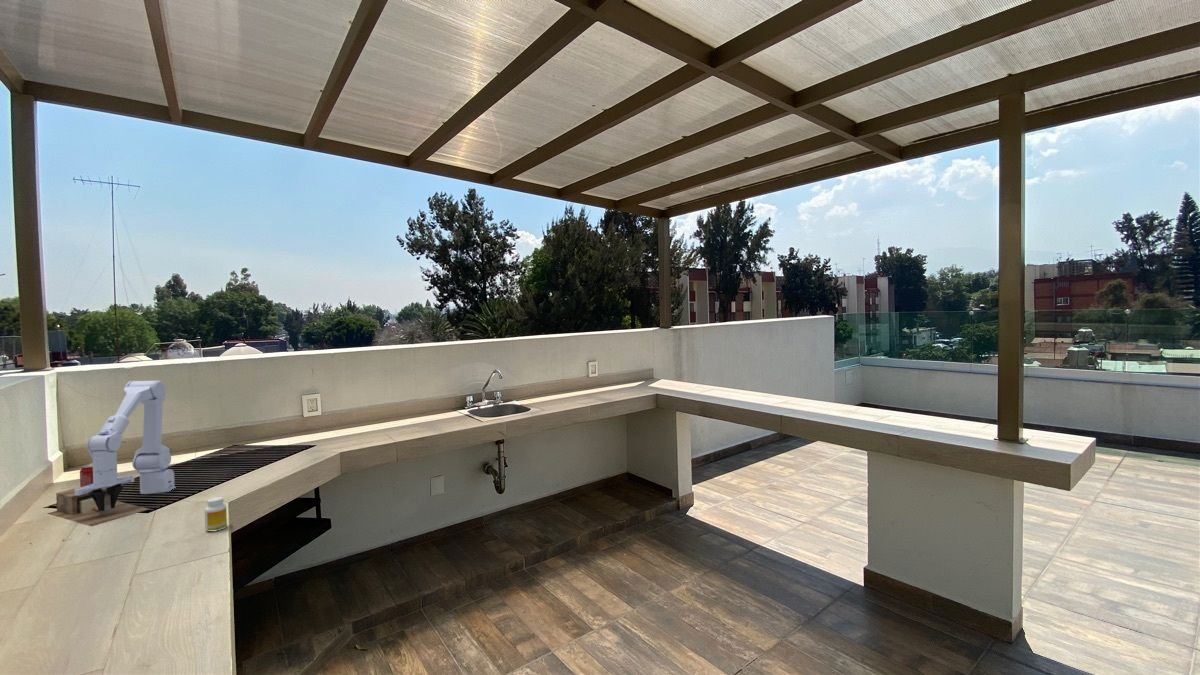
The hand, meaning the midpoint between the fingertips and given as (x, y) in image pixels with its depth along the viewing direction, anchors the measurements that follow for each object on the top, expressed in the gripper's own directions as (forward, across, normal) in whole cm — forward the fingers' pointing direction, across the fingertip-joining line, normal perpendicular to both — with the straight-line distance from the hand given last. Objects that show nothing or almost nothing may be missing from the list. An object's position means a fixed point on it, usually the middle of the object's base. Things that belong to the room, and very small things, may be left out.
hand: (106, 509), depth 163 cm
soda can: (+3, +9, +30) cm, 31 cm away
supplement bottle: (+3, +7, -46) cm, 46 cm away
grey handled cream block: (+1, 0, +7) cm, 7 cm away
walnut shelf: (+2, 0, +5) cm, 5 cm away
